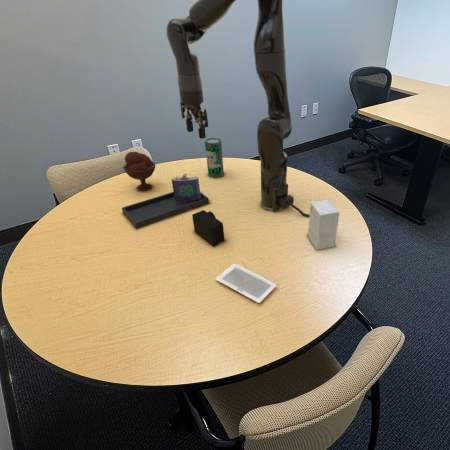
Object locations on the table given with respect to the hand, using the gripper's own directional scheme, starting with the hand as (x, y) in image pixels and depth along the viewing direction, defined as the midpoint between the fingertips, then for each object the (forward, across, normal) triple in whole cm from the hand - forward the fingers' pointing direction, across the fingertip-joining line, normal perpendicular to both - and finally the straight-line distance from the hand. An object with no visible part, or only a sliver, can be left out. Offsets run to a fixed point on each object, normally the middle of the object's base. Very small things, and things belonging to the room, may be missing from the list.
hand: (196, 134), depth 122 cm
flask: (+21, -7, +10) cm, 24 cm away
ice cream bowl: (+21, +12, +18) cm, 31 cm away
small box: (+21, -55, -10) cm, 60 cm away
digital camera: (+21, -31, +15) cm, 40 cm away
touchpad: (+21, -56, +20) cm, 63 cm away
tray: (+21, -7, +18) cm, 29 cm away
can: (+21, +6, -10) cm, 24 cm away
